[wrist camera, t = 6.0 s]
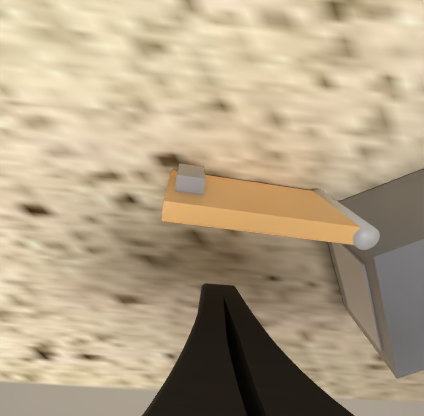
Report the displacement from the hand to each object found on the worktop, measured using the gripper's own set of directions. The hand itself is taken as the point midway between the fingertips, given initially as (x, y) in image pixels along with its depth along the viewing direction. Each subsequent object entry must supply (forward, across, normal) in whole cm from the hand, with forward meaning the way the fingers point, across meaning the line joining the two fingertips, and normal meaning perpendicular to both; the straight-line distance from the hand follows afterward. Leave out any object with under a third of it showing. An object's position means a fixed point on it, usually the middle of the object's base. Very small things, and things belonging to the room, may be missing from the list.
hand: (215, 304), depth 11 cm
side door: (+3, -1, -4) cm, 6 cm away
